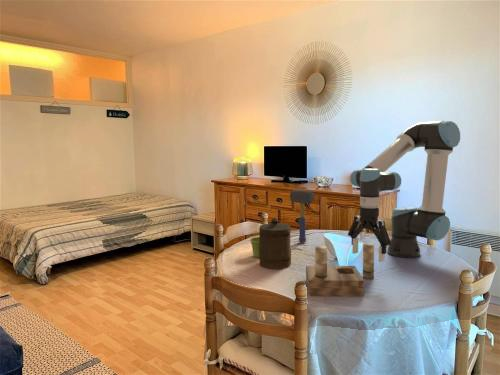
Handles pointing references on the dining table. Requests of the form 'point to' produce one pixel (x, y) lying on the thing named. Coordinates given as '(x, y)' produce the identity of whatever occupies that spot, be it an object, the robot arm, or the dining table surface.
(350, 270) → the board
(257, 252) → the plant pot
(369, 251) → the beech peg
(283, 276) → the dining table surface
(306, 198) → the rubber mallet
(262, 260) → the wooden container
